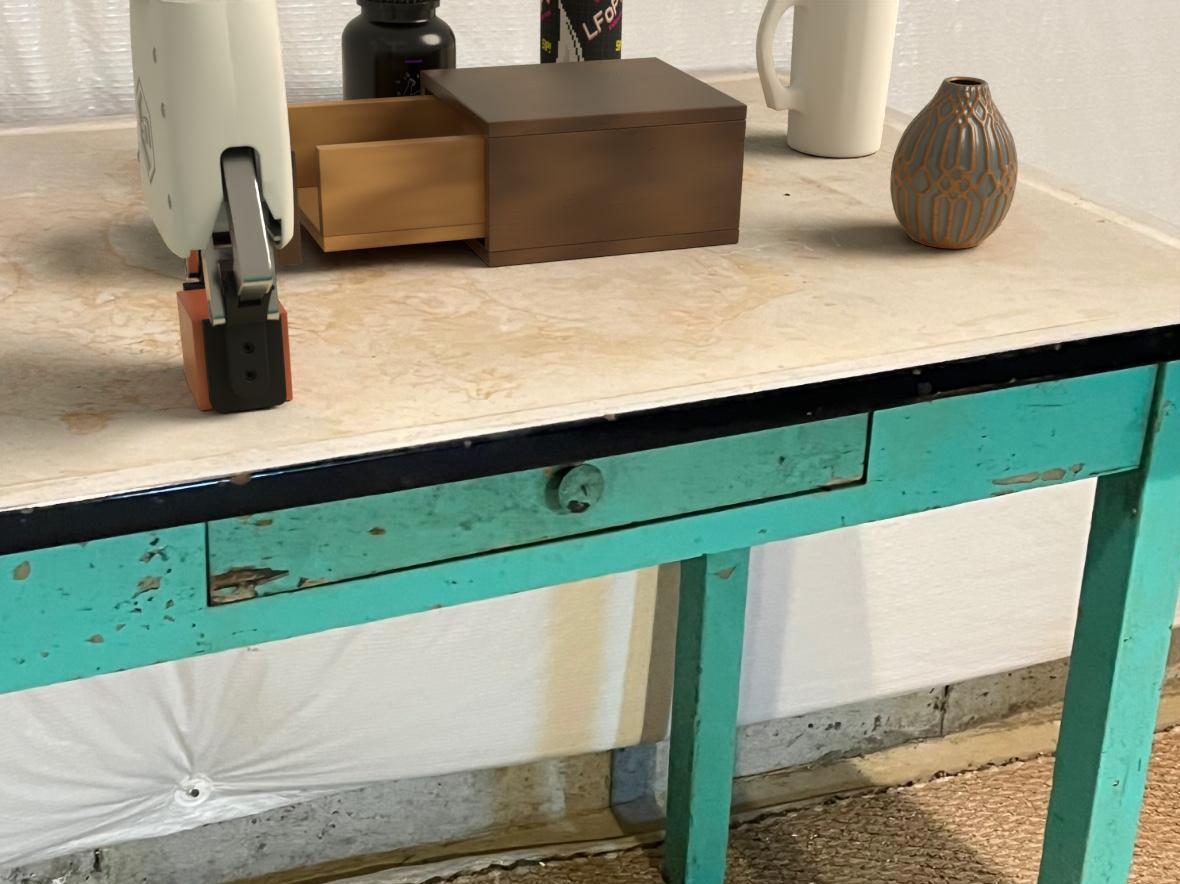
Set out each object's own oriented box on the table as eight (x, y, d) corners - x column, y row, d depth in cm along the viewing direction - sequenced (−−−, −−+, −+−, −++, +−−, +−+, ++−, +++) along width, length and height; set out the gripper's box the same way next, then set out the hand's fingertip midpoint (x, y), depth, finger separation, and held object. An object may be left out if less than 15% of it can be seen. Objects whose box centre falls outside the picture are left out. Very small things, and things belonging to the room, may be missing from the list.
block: (200, 411, 72) (191, 321, 70) (184, 377, 75) (175, 291, 73) (293, 400, 73) (287, 311, 72) (274, 367, 77) (268, 282, 75)
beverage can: (576, 121, 118) (579, -63, 112) (523, 105, 122) (523, -73, 116) (636, 109, 122) (642, -69, 116) (582, 94, 125) (585, -79, 119)
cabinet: (489, 267, 90) (488, 122, 86) (423, 202, 100) (419, 70, 96) (738, 243, 95) (747, 104, 91) (651, 183, 105) (656, 56, 101)
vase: (925, 262, 92) (945, 99, 88) (862, 226, 98) (877, 71, 94) (1031, 251, 95) (1056, 90, 90) (964, 216, 100) (984, 64, 96)
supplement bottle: (412, 198, 101) (406, -14, 95) (323, 179, 104) (312, -28, 98) (479, 173, 106) (477, -30, 100) (392, 156, 109) (385, -42, 103)
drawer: (171, 276, 85) (159, 160, 82) (138, 212, 94) (127, 106, 91) (530, 243, 91) (530, 134, 88) (466, 186, 100) (464, 86, 97)
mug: (845, 129, 118) (863, -54, 112) (904, 153, 113) (926, -38, 107) (722, 144, 114) (733, -46, 108) (778, 169, 108) (792, -29, 103)
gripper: (75, -85, 71) (124, 331, 80) (131, -17, 57) (182, 475, 66) (254, -89, 73) (282, 315, 82) (348, -25, 60) (370, 450, 69)
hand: (237, 382), depth 74 cm, fingers closed on block, 4 cm apart
